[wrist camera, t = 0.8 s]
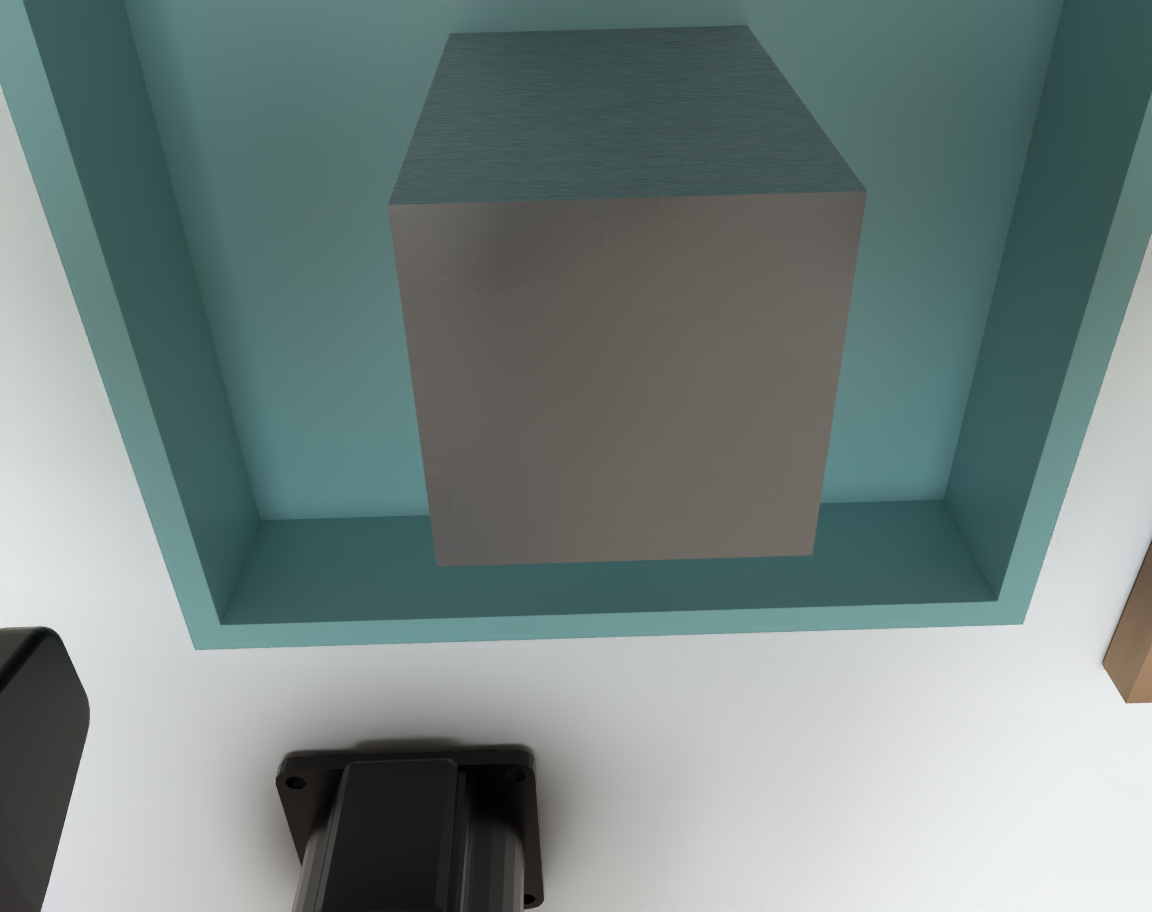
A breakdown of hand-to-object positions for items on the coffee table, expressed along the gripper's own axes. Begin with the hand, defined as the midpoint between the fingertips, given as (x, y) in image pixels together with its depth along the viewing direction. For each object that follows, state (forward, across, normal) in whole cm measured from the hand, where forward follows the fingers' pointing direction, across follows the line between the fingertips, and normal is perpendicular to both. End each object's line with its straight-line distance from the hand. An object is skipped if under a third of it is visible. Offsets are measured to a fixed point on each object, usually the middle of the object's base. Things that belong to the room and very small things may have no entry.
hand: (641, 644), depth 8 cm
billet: (+10, 0, 0) cm, 11 cm away
